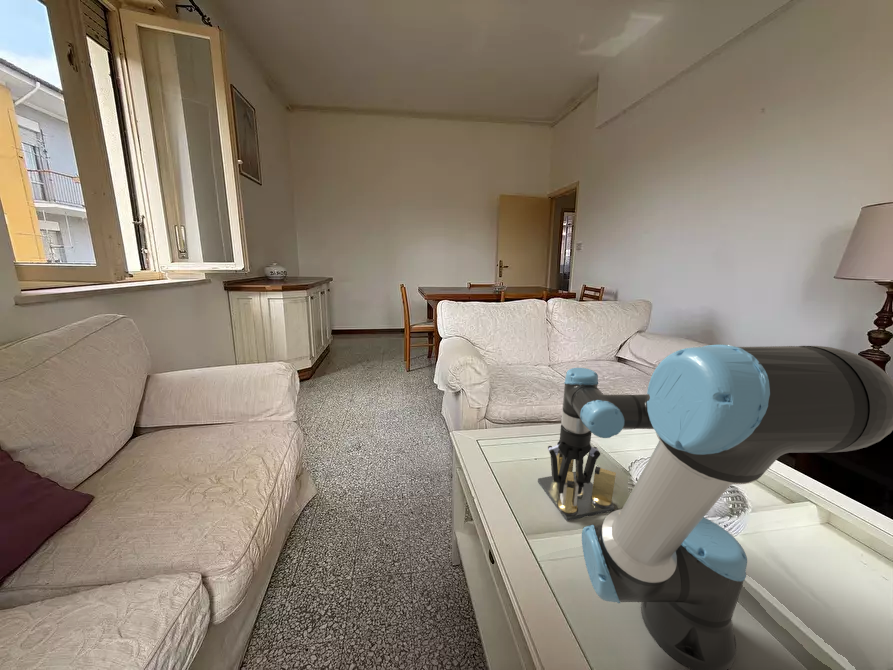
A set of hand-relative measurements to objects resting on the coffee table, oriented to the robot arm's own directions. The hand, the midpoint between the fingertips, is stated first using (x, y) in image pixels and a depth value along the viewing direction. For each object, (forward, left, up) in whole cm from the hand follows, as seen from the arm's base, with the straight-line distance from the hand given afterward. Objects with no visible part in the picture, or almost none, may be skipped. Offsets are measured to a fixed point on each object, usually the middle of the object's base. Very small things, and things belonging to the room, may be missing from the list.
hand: (568, 501), depth 95 cm
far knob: (+11, -6, -2) cm, 12 cm away
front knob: (0, 0, -2) cm, 2 cm away
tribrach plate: (+5, -6, -3) cm, 8 cm away
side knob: (0, -11, -2) cm, 11 cm away
